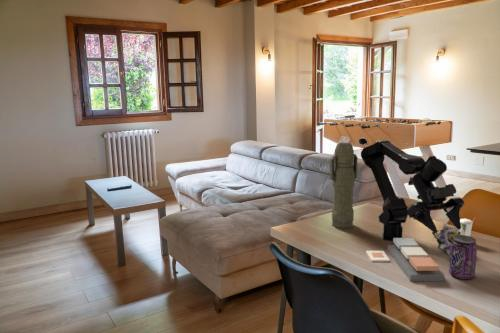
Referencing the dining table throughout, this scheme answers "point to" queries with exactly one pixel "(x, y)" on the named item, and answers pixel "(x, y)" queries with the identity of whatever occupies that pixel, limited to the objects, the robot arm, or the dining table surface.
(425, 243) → the dining table surface
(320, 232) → the dining table surface
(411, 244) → the grey-blue key
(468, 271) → the beverage can
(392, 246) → the keypad board
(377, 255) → the card
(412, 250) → the off-white key
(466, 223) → the milkshake
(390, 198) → the robot arm
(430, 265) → the terracotta key
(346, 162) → the thermos
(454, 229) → the passion flower
